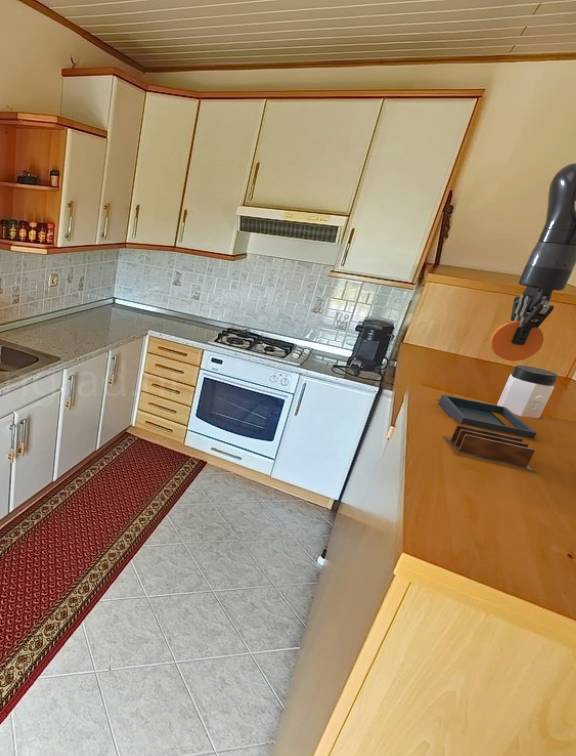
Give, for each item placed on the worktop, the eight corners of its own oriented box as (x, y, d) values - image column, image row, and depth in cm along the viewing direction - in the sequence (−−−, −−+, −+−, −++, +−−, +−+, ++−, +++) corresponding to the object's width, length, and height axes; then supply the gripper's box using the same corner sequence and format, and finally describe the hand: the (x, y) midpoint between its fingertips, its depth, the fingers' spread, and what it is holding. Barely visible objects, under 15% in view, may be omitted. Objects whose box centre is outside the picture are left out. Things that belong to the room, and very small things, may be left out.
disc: (530, 363, 111) (548, 324, 108) (533, 364, 110) (551, 325, 107) (482, 354, 114) (498, 317, 111) (485, 356, 113) (501, 318, 110)
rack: (512, 456, 100) (522, 436, 99) (531, 476, 92) (542, 454, 91) (443, 440, 104) (451, 421, 103) (456, 458, 97) (465, 437, 95)
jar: (511, 418, 122) (532, 373, 118) (486, 406, 130) (505, 363, 126) (547, 422, 122) (569, 377, 118) (520, 409, 130) (540, 367, 126)
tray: (501, 416, 123) (505, 406, 122) (531, 443, 108) (536, 433, 107) (438, 403, 128) (442, 394, 127) (458, 427, 113) (463, 417, 112)
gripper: (589, 271, 97) (550, 353, 103) (556, 265, 109) (522, 340, 115) (542, 265, 100) (506, 346, 106) (515, 261, 112) (484, 334, 118)
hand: (515, 342), depth 110 cm, fingers closed on disc, 1 cm apart
